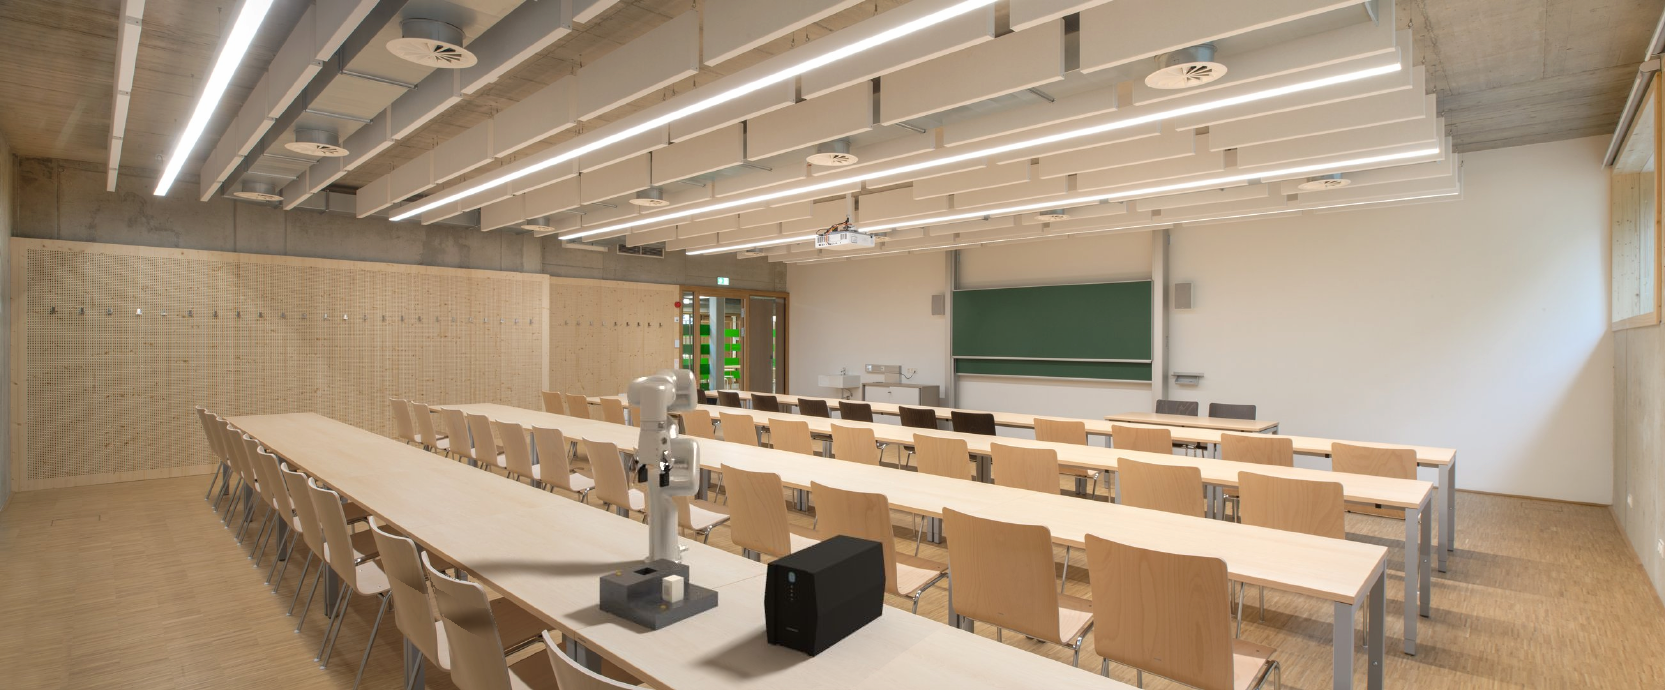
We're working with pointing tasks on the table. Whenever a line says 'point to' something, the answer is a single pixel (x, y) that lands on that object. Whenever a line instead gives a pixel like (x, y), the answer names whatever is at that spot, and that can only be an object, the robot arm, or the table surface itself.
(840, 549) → the uninterruptible power supply
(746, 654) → the table surface
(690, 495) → the robot arm
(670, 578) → the plug
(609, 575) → the panel
